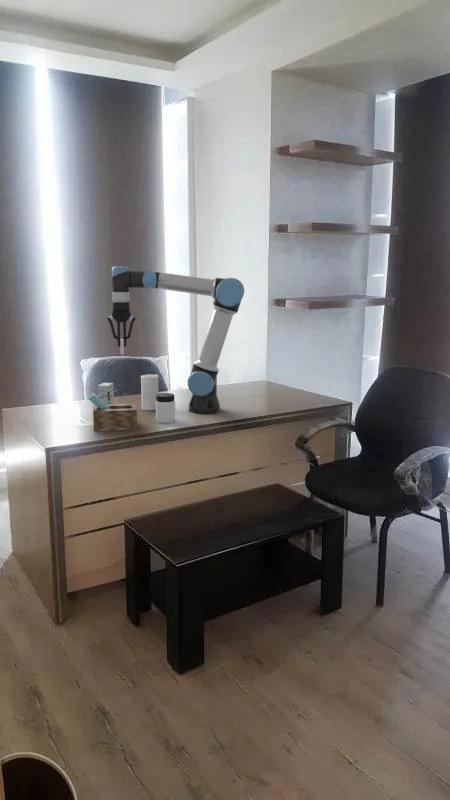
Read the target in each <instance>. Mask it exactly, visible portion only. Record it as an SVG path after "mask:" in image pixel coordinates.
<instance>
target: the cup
mask: <svg viewBox="0 0 450 800" xmlns="http://www.w3.org/2000/svg"><path fill="white" fill-rule="evenodd" d="M140 386H141V387H140V391H141V394H140V395H141V396H140V397H141V398H140V399H141V401H140V402H141V410H144V411H156V395H157V394H159V375H158V374H149V373H148V374H142V375H140Z"/></svg>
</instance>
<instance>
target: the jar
mask: <svg viewBox="0 0 450 800" xmlns="http://www.w3.org/2000/svg"><path fill="white" fill-rule="evenodd" d="M155 421H156V422H157V423H158V424H160V423H161V424H170V423H175V422H176V400H175V394H174V393H170V392H162V393H161V392H160V393H159V392H158V394H157V395H156V410H155Z"/></svg>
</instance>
